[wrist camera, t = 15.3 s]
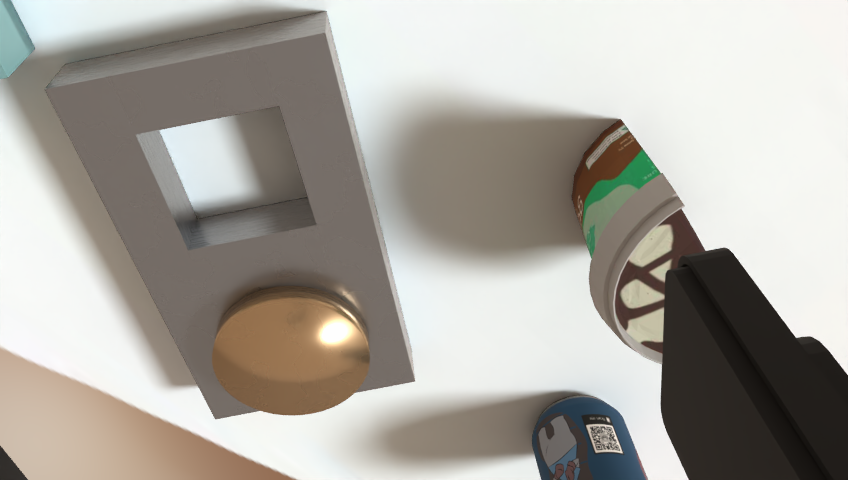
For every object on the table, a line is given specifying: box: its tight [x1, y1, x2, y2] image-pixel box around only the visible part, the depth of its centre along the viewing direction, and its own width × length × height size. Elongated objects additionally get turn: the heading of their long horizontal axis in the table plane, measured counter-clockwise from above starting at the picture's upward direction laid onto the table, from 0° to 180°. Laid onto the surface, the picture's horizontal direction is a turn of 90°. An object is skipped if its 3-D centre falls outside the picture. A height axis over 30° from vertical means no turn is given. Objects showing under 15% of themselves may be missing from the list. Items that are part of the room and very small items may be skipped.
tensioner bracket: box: [45, 11, 415, 419], centre depth 40 cm, size 23×13×4 cm, turn 10°
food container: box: [572, 119, 705, 364], centre depth 39 cm, size 12×6×10 cm, turn 35°
